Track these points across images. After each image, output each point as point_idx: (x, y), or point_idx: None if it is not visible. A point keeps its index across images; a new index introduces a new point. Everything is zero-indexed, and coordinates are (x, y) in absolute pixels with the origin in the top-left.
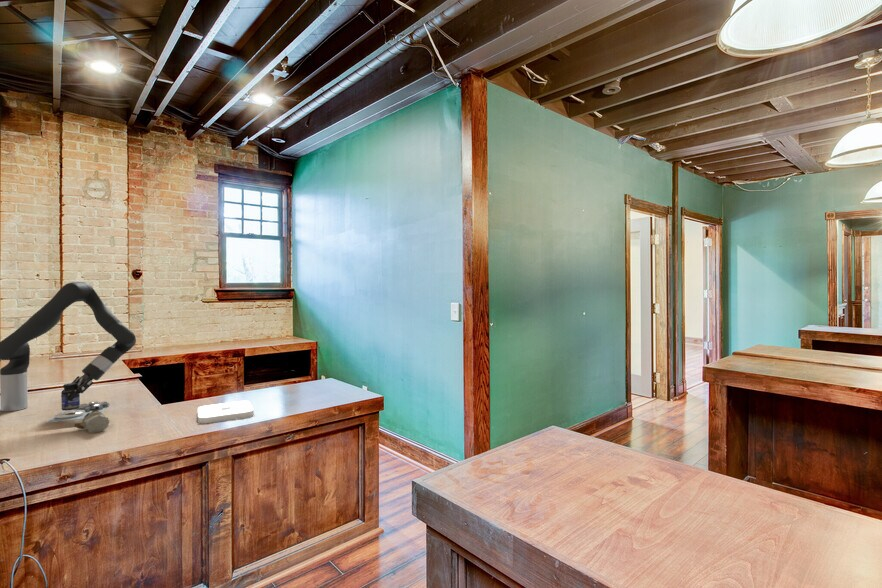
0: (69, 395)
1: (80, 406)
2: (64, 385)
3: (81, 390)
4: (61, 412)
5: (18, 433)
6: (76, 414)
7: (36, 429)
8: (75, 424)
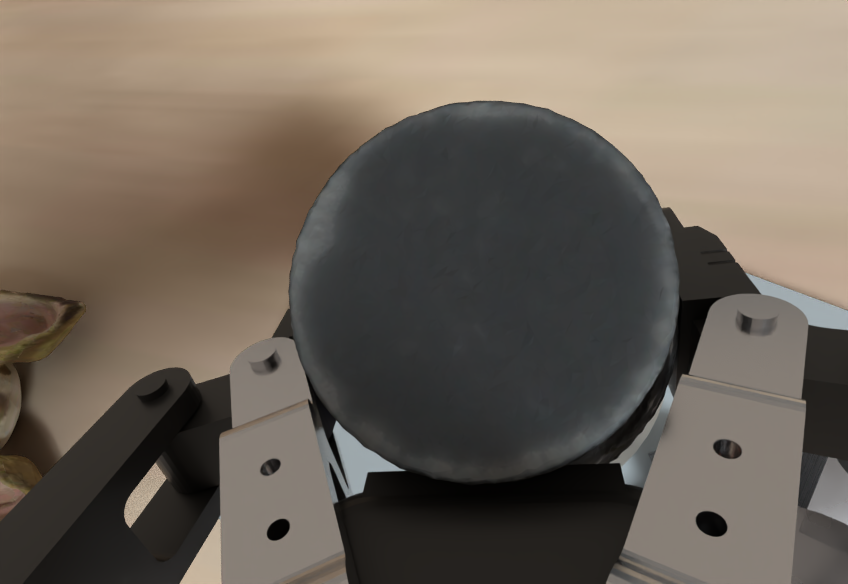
0: None
1: (804, 526)
2: (404, 123)
3: (157, 460)
4: None
5: (348, 6)
6: None
7: (361, 102)
8: (60, 302)
